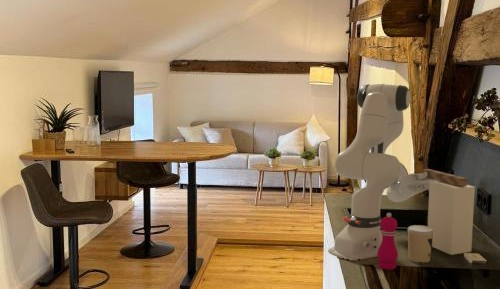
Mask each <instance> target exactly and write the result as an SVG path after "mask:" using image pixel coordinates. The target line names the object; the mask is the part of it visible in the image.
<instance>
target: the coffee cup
mask: <svg viewBox="0 0 500 289" xmlns="http://www.w3.org/2000/svg"><path fill="white" fill-rule="evenodd" d="M433 233H434V231H433V229H432V228H431V227H428V225H421V224H419V225H418V224H417V225H416V224H414V225H410V226H408V227H407V248H408V249H407V250H408V259H409V260H410V261H411V262H414V263H418V262H423V263H422V264H424V262H426V263H428V262H430V261H431V258H432V257H431V256H432V248H433V247H432V240H433Z"/></svg>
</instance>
